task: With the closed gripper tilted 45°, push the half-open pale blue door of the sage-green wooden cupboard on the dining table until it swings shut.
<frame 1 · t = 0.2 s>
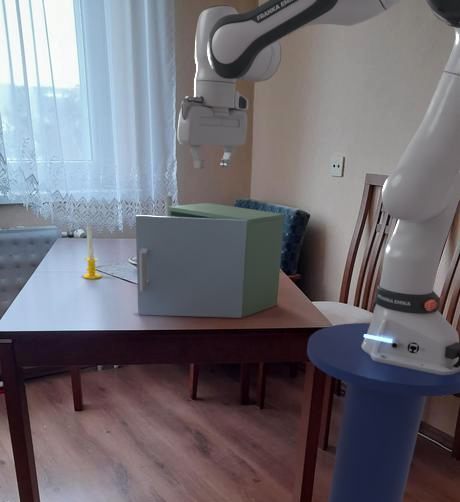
hand: (212, 168, 126), 35 cm above the table, tool pointing down, fingers open, 8 cm apart
candle: (92, 277, 171), on the table
cupboard: (222, 300, 154), on the table
bottle: (168, 282, 170), on the table
shower door: (190, 271, 132), point 12 cm above the table, hinge at 40.0°
tomato: (162, 267, 188), on the table
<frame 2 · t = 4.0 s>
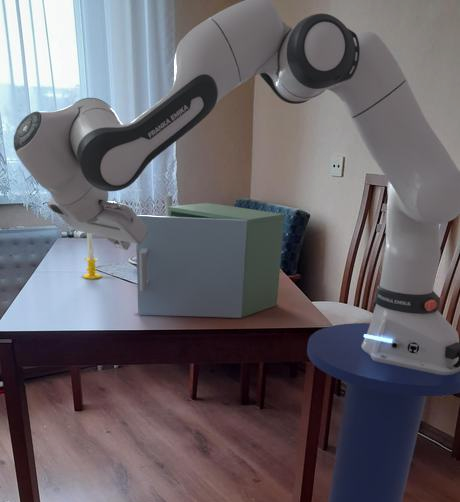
hand: (124, 246, 115), 20 cm above the table, tool tilted 45°, fingers closed
nothing on the table moved.
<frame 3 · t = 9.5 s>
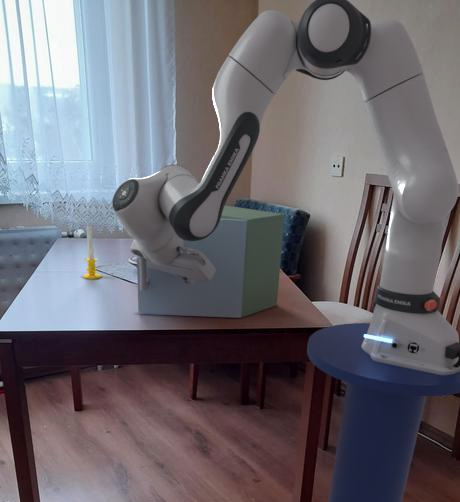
hand: (189, 281, 135), 9 cm above the table, tool tilted 45°, fingers closed
shower door: (190, 270, 133), point 12 cm above the table, hinge at 38.6°, touching gripper
everything else where it was.
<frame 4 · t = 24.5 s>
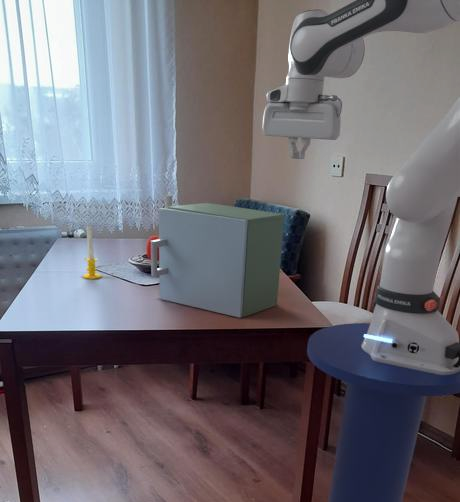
hand: (297, 158, 137), 37 cm above the table, tool pointing down, fingers closed
shower door: (194, 264, 139), point 12 cm above the table, hinge at 5.4°
everything else where it was.
at the end: shower door at +5° (first picture: +40°) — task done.
